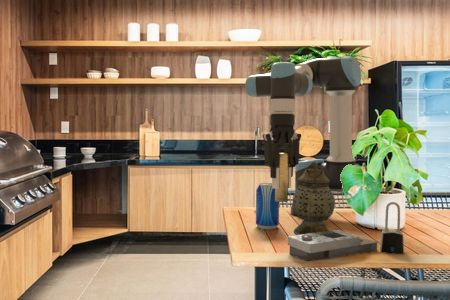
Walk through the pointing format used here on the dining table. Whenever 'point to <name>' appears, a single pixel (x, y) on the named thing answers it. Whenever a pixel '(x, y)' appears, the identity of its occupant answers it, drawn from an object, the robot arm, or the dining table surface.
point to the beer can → (266, 207)
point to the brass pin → (282, 178)
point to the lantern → (313, 201)
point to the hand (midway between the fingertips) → (281, 187)
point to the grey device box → (328, 245)
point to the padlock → (392, 236)
